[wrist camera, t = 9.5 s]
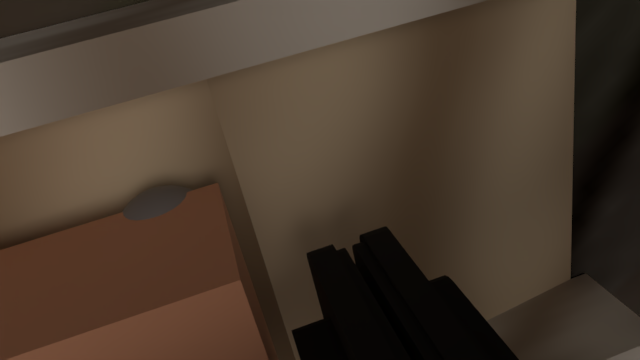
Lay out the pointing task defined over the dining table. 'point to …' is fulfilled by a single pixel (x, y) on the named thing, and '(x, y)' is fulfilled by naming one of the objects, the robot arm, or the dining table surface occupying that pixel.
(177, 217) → the brown rectangular block
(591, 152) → the dining table surface
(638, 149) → the dining table surface
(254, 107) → the dock
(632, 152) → the dining table surface
